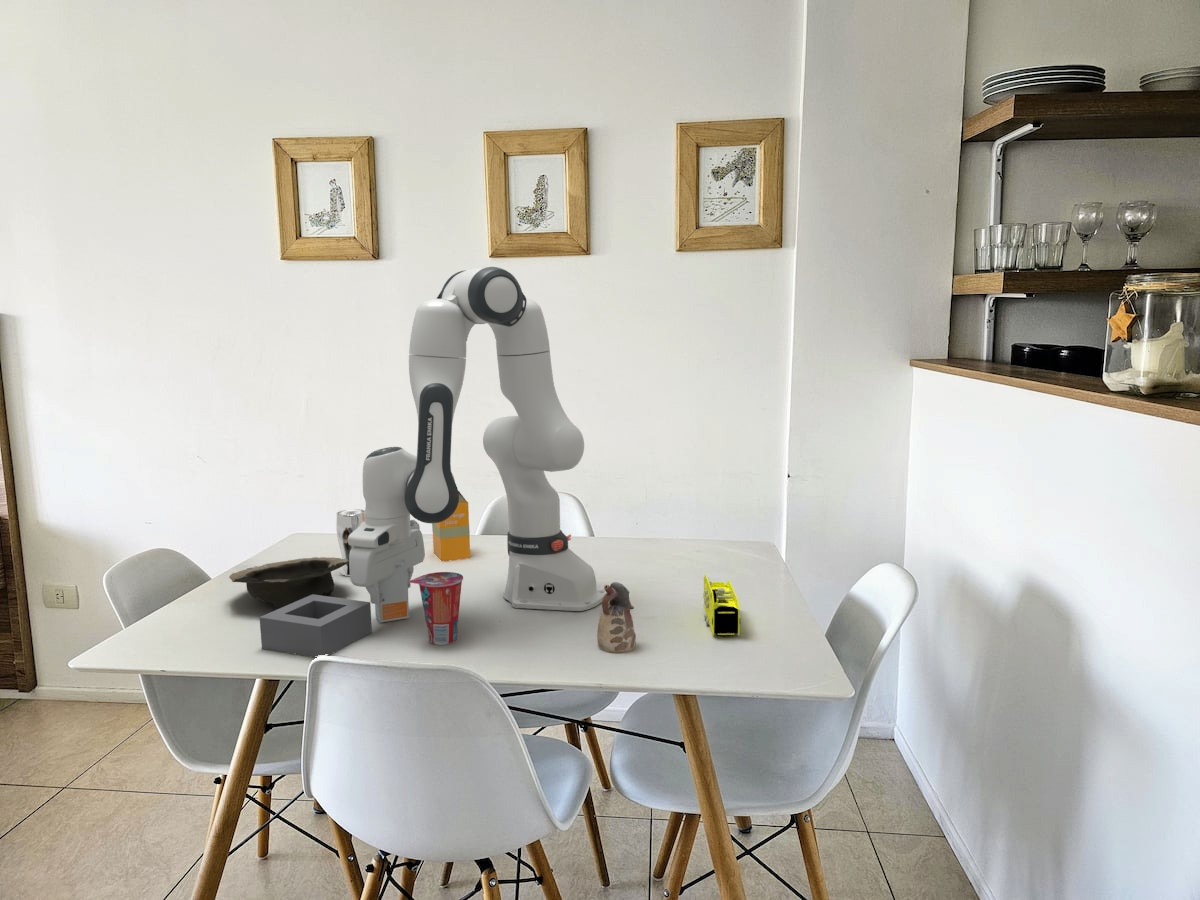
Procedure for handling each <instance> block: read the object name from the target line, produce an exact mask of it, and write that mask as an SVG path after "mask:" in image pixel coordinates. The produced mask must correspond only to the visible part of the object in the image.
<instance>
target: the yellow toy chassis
mask: <svg viewBox="0 0 1200 900" xmlns="http://www.w3.org/2000/svg"><path fill="white" fill-rule="evenodd" d="M702 596H703V597H702V598H703V608H704V612H705V613H704V614H703V615H704V621H705V624H706V626H709V627H710V632H711V633H712V636H715V635H716V636H719V637H734V636H735V635H736V634H737V635H738V636H740V626H741V617H740V615H741V613H740V610H741V609H740V604H739V599H738V596H737V594H736V592H735V590H734V588H733V585H732V583H731V580H730V579H728V580H727V582H726V583H725V582H724V581H715V582H714V581H712V580H711V577H708V576H707V574H706V573H704V576H703V595H702Z"/></svg>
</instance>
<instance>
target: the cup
mask: <svg viewBox="0 0 1200 900" xmlns="http://www.w3.org/2000/svg"><path fill="white" fill-rule="evenodd" d="M463 580H464V576H463V575H462V574H461V573H458V572H451V571H439V572H438V571H436V572H431V573H426V574H423V575H420V576H417V577H415V578H412V579H411V580H410V582H409V583H410V584H417V585H418V586H419V591H420V596H421V603H422V608H423V613H424V617H425V618H424V619H425V624H426V630H427V635H428V641H429V643H430V644H433V645H435V646H436V645H437V646H439V645H440V646H442V645H443V646H445V645H448V644H452V643H454V642H456V641H457V638H458V627H459V617H460V614H459V613H460V607H461V606H460V604H461V595H462V585H463V584H462V583H463Z"/></svg>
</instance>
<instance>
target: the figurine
mask: <svg viewBox="0 0 1200 900" xmlns="http://www.w3.org/2000/svg"><path fill="white" fill-rule="evenodd" d="M603 588H604V589H605V591H606V592H607V594H606V595H605V596H604V598H603V600H602V602H601V608H602V609H601V612H600V615H599V620H598V625H597V631H596V632H597V633H596V638H597V644H598V645H597V646H598V648H599V649H600V650H602V651H604V652H606V653H613V654H619V653H620V654H623V653H628V652H632V651H633V650H634V649H635V646H636V644H637V642H636V640H637V638H636V637H637V636H636V635H637V634H636V632H635V629H634V628H635V627H634V621H633V616H632V613H631V610H634V609H635V607H634V605H633V604H632V603H631V601H630V591H629V589H628V588H627V587H626V586H624V584H622V583H621V582H618V581H614V582H611V584H609V585H608V584H605V585H604V586H603Z"/></svg>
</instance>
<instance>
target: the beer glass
mask: <svg viewBox="0 0 1200 900" xmlns="http://www.w3.org/2000/svg"><path fill="white" fill-rule="evenodd" d="M364 512H365V509H362V508H361V509H358V508H355V509H354V508H353V509H352V508H351V509H344V510H339V511H337V512H336V537H337V542H338V546H339V550H340V553H341V559H347V561H348V560H349V554H350V550H351V549H352V547H353V546H350V545H349V544H348V537H349V535H350V534H351V533H352V532H353V531H355V530H356V529H357V528H358V527H359V526H360V525H361V523H362V522H364V521H365V520H364ZM340 573H341V575H342V576H343V575H345V576H344V577H348V576H350V570H349V562H348V563H347V564H346V565H344V566H342V567H341V572H340Z"/></svg>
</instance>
